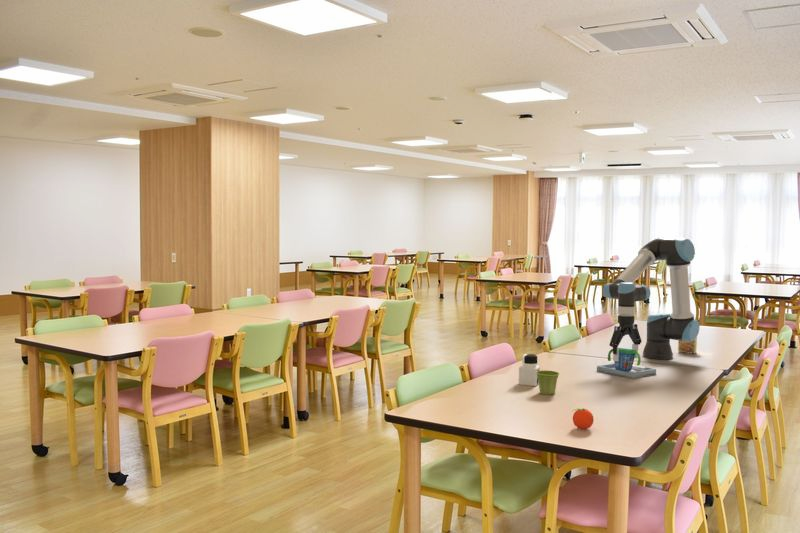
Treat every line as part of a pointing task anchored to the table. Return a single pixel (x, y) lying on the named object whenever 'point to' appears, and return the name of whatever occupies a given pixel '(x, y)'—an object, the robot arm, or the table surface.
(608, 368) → the meal tray
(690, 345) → the candy box
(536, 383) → the container
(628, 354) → the snack cup
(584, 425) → the tomato
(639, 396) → the table surface
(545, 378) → the plant pot
